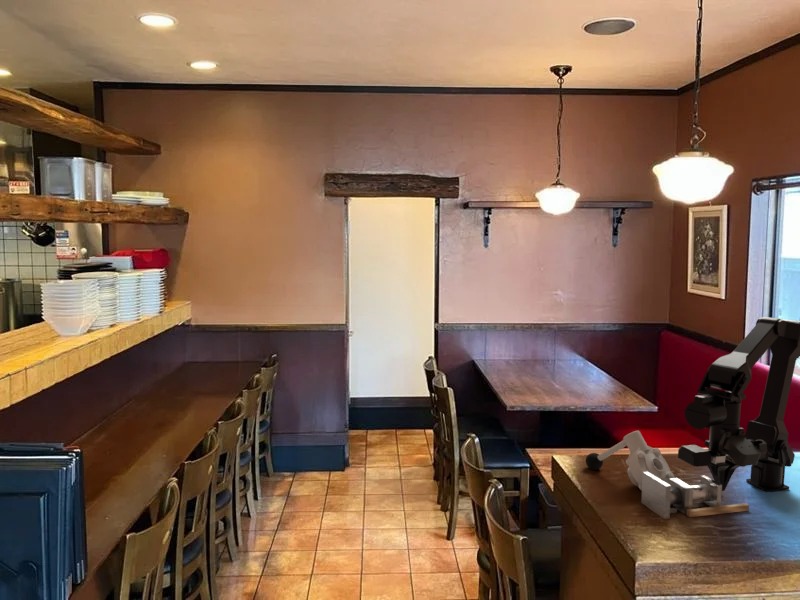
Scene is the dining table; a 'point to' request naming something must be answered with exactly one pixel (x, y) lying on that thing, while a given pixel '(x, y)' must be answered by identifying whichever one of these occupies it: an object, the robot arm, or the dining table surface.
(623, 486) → the dining table surface
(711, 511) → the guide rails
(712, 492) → the grey slotted block
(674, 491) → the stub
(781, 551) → the dining table surface
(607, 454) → the mechanical valve
